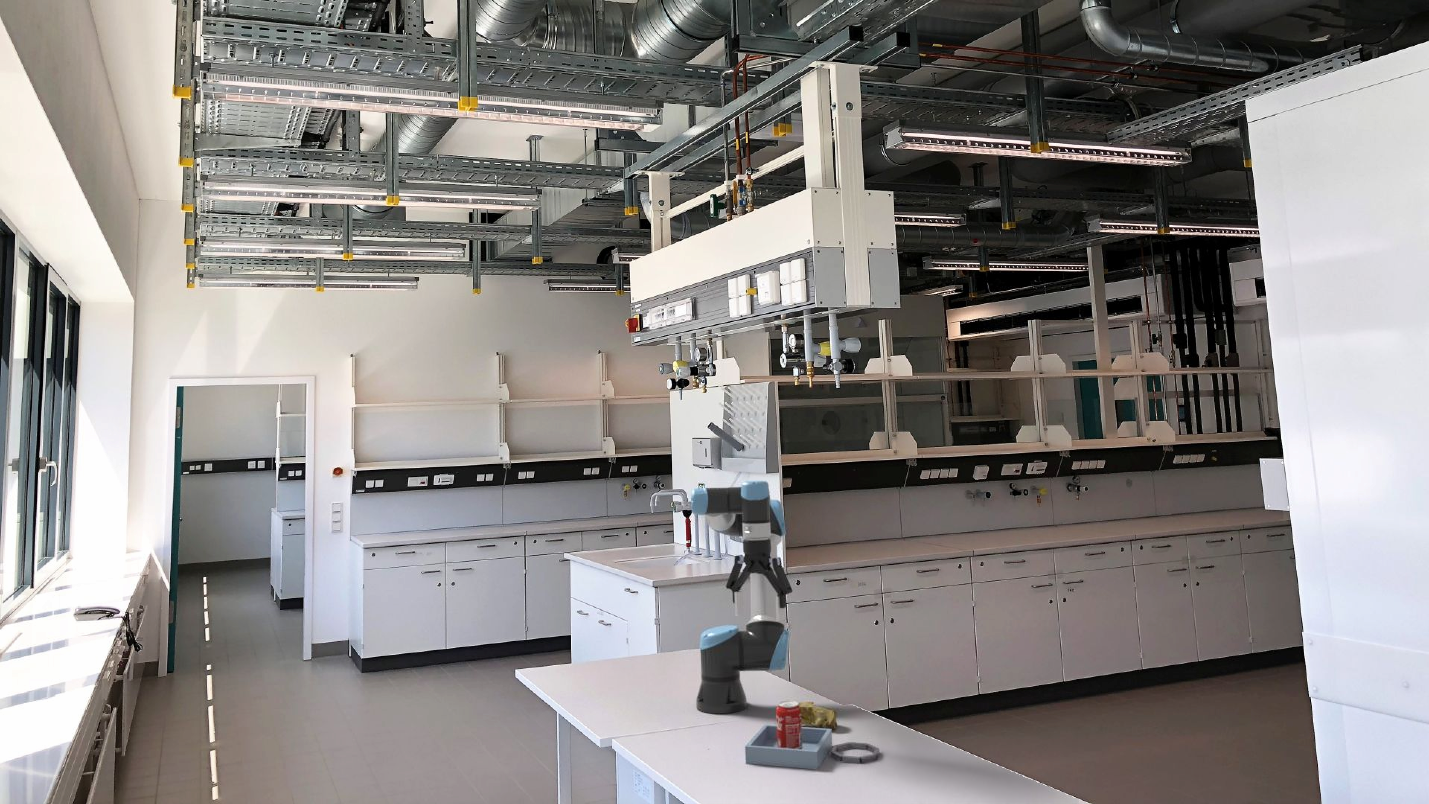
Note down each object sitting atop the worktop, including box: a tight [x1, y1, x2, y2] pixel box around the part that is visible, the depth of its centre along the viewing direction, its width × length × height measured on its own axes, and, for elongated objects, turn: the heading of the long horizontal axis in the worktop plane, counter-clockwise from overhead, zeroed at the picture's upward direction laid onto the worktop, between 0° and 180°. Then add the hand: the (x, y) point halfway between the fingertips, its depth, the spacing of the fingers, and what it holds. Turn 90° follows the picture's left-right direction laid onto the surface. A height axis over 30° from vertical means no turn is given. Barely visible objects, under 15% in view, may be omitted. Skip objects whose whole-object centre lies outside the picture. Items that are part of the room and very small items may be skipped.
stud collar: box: [830, 741, 880, 764], centre depth 232 cm, size 12×12×1 cm
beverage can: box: [775, 700, 803, 749], centre depth 235 cm, size 6×6×12 cm
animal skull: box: [797, 701, 838, 730], centre depth 256 cm, size 10×16×7 cm
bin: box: [744, 724, 833, 770], centre depth 234 cm, size 18×18×4 cm
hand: (759, 618), depth 249 cm, fingers open, 13 cm apart
